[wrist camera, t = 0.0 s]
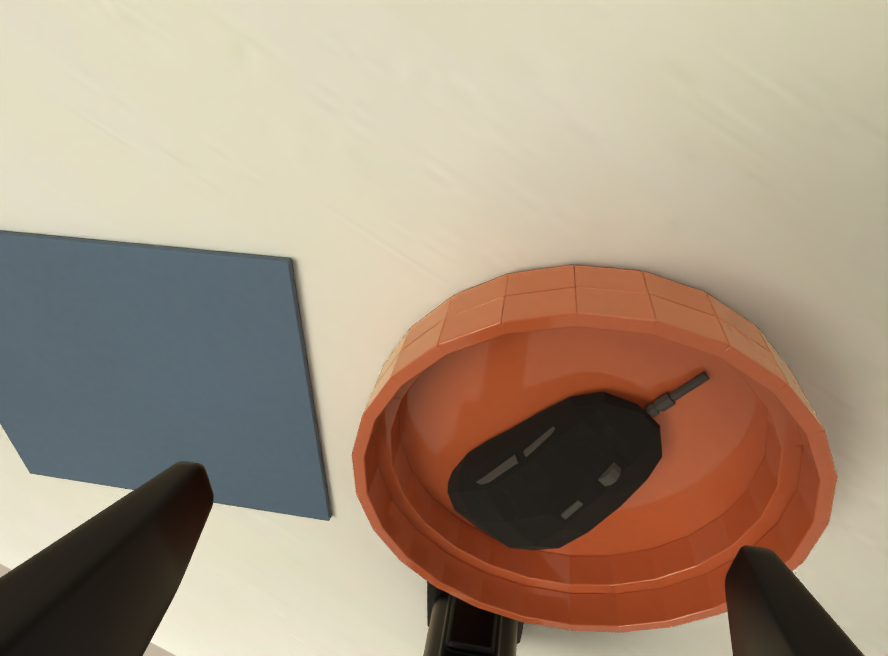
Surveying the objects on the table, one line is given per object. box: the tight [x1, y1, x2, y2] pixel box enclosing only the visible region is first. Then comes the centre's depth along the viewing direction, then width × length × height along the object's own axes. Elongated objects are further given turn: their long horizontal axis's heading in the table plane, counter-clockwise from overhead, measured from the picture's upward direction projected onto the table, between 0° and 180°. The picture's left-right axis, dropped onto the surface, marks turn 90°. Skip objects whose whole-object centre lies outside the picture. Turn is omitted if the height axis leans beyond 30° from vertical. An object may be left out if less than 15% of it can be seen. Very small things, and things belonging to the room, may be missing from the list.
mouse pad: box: [0, 231, 331, 521], centre depth 31 cm, size 18×21×1 cm
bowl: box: [352, 265, 837, 632], centre depth 26 cm, size 20×20×4 cm
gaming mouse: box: [447, 372, 709, 550], centre depth 26 cm, size 6×15×4 cm, turn 137°
